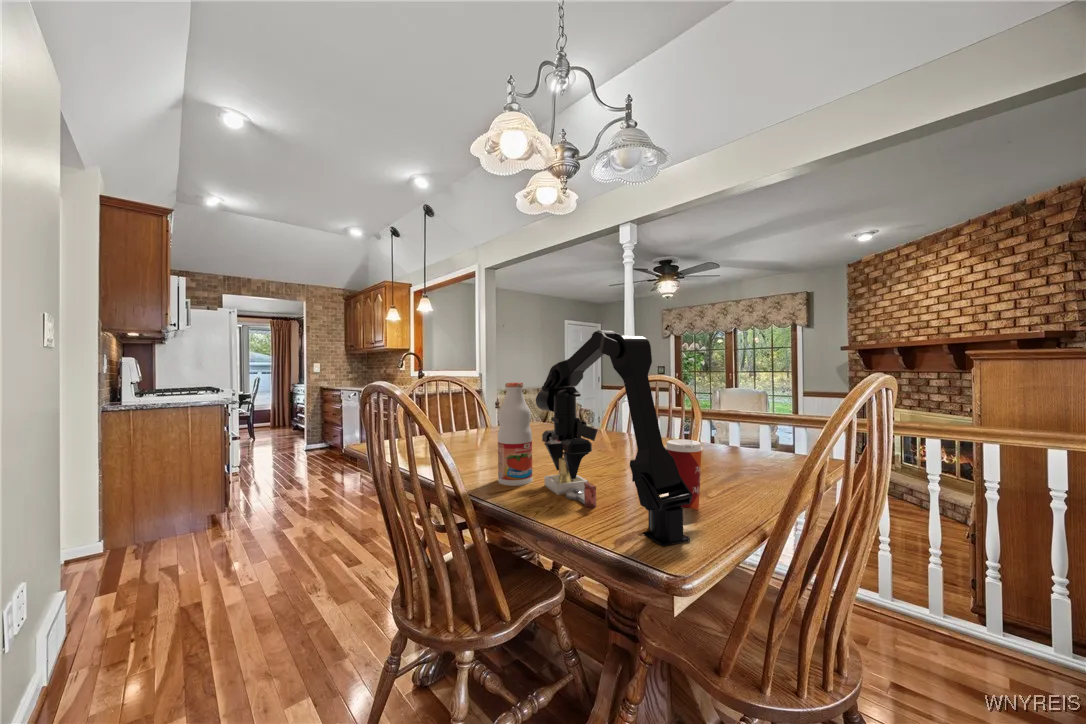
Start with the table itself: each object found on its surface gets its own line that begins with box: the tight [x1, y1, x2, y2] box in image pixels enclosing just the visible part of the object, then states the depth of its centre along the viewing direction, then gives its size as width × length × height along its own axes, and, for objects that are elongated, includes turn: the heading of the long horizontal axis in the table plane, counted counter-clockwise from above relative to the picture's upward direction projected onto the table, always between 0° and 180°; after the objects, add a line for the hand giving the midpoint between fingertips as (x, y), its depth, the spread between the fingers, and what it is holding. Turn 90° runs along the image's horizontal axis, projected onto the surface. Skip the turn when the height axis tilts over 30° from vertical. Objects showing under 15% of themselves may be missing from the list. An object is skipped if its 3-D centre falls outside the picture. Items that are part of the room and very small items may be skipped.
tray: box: [544, 474, 589, 496], centre depth 110 cm, size 8×8×2 cm
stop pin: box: [558, 456, 573, 484], centre depth 109 cm, size 4×4×7 cm
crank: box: [565, 481, 597, 509], centre depth 99 cm, size 12×5×5 cm, turn 21°
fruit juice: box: [497, 382, 534, 487], centre depth 117 cm, size 9×9×28 cm
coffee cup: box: [664, 438, 704, 511], centre depth 97 cm, size 8×8×15 cm
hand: (565, 474), depth 110 cm, fingers open, 9 cm apart
